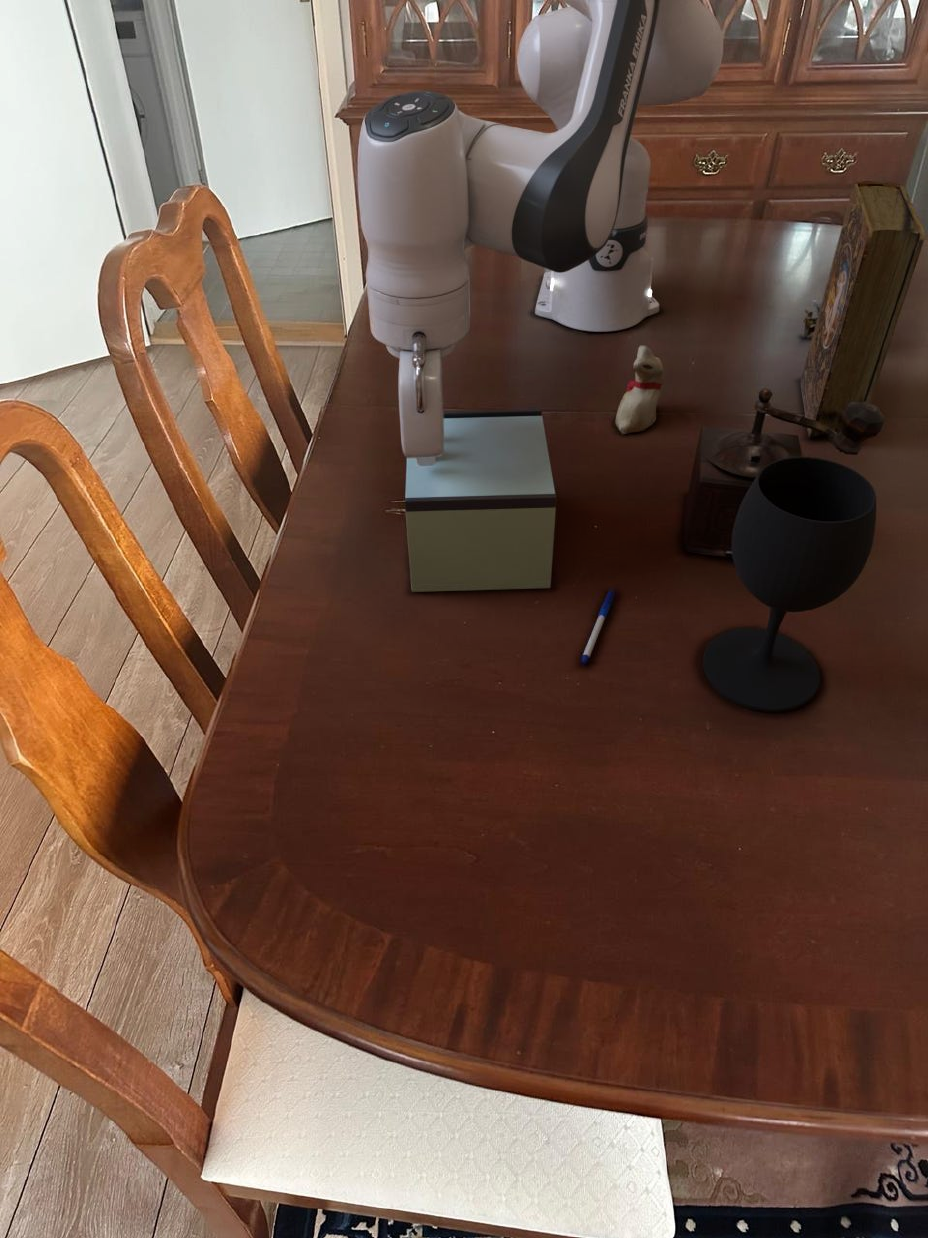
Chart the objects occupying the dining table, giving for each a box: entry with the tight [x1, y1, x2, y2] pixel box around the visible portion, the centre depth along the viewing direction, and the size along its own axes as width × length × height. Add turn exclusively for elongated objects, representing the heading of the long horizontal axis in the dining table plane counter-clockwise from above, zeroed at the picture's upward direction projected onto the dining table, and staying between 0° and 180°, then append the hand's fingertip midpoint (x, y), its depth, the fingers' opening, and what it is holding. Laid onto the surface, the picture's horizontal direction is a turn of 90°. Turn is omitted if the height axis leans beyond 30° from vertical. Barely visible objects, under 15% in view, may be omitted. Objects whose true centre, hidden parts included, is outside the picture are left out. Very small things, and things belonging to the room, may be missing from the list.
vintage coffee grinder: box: [682, 388, 885, 560], centre depth 90 cm, size 16×11×18 cm
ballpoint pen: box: [581, 588, 615, 665], centre depth 85 cm, size 10×1×1 cm, turn 160°
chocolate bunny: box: [614, 345, 666, 435], centre depth 110 cm, size 6×8×10 cm
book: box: [800, 180, 926, 439], centre depth 105 cm, size 16×6×25 cm, turn 168°
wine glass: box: [702, 456, 877, 713], centre depth 74 cm, size 10×10×20 cm
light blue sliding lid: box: [404, 415, 556, 499], centre depth 87 cm, size 14×14×4 cm
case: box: [404, 407, 557, 593], centre depth 92 cm, size 16×14×11 cm
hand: (426, 445), depth 87 cm, fingers open, 4 cm apart
